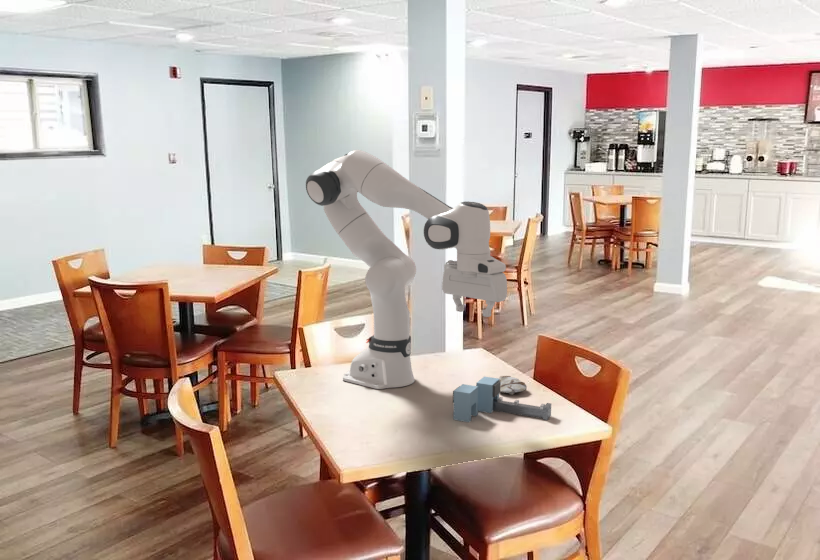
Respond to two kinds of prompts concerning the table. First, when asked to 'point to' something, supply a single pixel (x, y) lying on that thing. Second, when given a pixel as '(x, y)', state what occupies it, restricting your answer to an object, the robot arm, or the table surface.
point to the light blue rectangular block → (487, 393)
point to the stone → (511, 385)
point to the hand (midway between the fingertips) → (473, 313)
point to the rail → (522, 408)
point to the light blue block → (465, 402)
